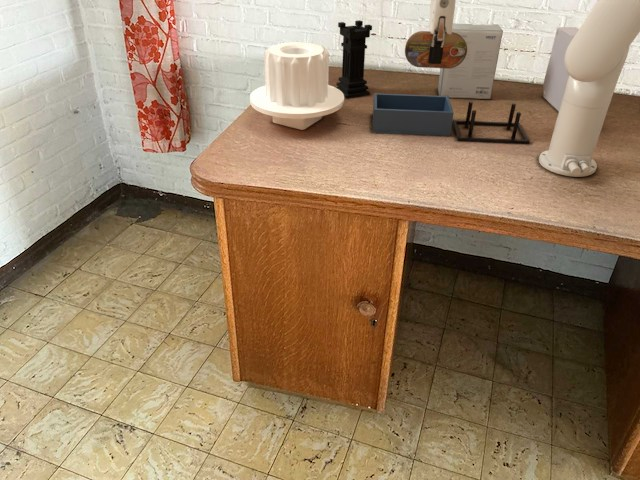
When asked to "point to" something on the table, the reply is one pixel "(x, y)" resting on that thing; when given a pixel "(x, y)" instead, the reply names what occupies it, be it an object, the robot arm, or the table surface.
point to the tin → (420, 48)
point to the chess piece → (353, 59)
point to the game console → (558, 67)
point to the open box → (412, 114)
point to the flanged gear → (296, 85)
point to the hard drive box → (473, 63)
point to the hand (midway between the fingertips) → (434, 60)
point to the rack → (509, 124)
